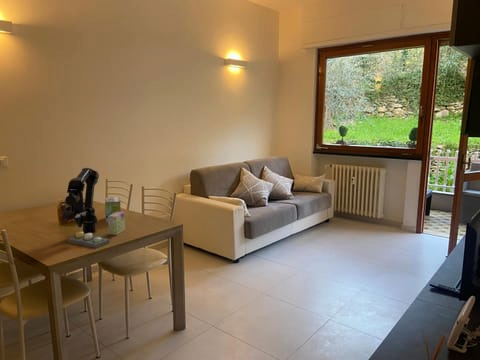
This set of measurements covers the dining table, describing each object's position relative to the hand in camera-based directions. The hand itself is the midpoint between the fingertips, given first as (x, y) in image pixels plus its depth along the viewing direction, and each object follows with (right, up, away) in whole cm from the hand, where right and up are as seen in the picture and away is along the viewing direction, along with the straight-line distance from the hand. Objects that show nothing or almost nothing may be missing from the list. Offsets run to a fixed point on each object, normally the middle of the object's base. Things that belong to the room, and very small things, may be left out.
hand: (80, 227), depth 206 cm
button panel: (+6, -8, -2) cm, 10 cm away
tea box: (+4, -1, +44) cm, 44 cm away
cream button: (+6, -6, -2) cm, 9 cm away
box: (+16, -5, +17) cm, 24 cm away
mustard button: (0, -6, +1) cm, 6 cm away
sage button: (+12, -8, -5) cm, 15 cm away
